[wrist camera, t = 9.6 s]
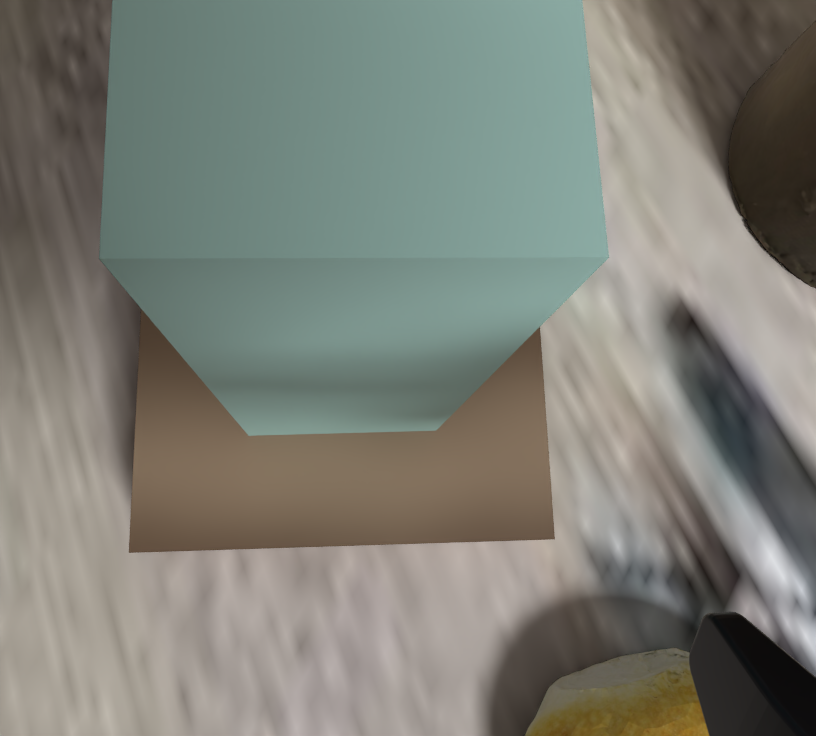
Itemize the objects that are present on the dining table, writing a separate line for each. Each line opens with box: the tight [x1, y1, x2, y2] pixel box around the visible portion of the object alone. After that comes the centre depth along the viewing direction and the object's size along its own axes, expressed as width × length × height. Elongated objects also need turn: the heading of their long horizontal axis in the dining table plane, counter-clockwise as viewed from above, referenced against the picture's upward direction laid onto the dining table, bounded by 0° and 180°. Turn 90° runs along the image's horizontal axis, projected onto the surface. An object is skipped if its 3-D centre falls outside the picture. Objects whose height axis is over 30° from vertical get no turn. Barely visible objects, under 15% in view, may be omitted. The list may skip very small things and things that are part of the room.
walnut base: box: [129, 309, 555, 553], centre depth 22 cm, size 11×11×3 cm
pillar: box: [99, 0, 609, 436], centre depth 14 cm, size 5×5×13 cm
